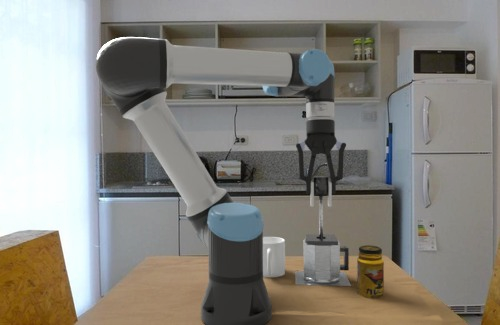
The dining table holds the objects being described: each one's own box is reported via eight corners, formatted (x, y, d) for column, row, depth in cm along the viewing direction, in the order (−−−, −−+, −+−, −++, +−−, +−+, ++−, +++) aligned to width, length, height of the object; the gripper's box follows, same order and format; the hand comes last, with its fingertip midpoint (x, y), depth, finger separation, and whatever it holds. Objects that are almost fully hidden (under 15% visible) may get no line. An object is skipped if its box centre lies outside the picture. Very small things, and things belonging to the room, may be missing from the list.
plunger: (308, 249, 96) (307, 177, 96) (307, 243, 104) (306, 176, 103) (336, 250, 96) (336, 177, 95) (333, 243, 103) (332, 176, 102)
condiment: (382, 305, 84) (381, 252, 83) (345, 298, 88) (344, 248, 88) (388, 294, 90) (388, 245, 90) (353, 288, 94) (353, 241, 94)
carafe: (304, 283, 96) (303, 241, 95) (302, 271, 105) (302, 233, 105) (351, 284, 94) (350, 242, 94) (345, 272, 104) (345, 234, 104)
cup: (285, 270, 109) (284, 236, 109) (284, 285, 97) (284, 247, 97) (257, 270, 110) (256, 236, 109) (253, 284, 98) (253, 246, 98)
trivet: (295, 287, 95) (295, 284, 95) (295, 273, 106) (295, 271, 106) (351, 289, 94) (351, 285, 94) (344, 274, 105) (344, 272, 105)
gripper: (288, 118, 96) (289, 208, 97) (355, 117, 94) (355, 208, 95) (288, 121, 104) (289, 204, 104) (350, 120, 102) (350, 204, 102)
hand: (320, 206), depth 99 cm, fingers closed on plunger, 4 cm apart
